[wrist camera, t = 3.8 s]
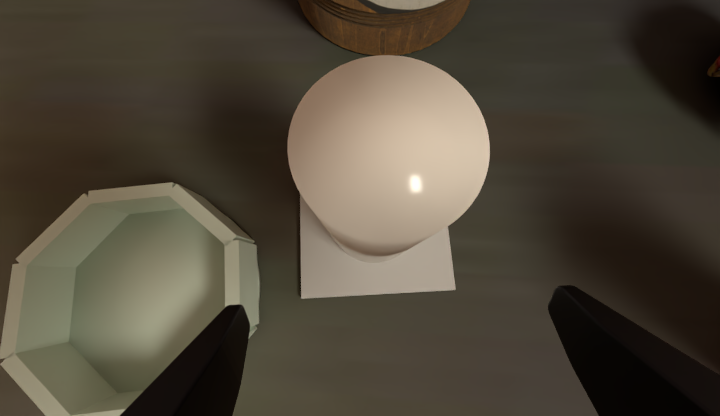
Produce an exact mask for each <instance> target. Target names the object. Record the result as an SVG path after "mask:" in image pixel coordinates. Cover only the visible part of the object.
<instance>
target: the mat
mask: <svg viewBox="0 0 720 416" xmlns="http://www.w3.org/2000/svg"><path fill="white" fill-rule="evenodd" d="M300 237H301V299H304V298H321V297H339V296H357V295H374V294H392V293H409V292H427V291H445V290H455V282H454V273H453V265H452V257H451V248H450V240H449V232H448V226H447V227H446V228H444V229H443V230H441V231H439V232H437V233H436V234H434V235H432V236H431V237H429V238H427V239H426V240H424V241H422V242H421V243H419V244H417V245H416V246H414V247H412V248H410V249H409V250H407V251H405V252H404V253H402V254H400V255H399V256H397V257H395V258H393V259H391V260H388V261H385V262H380V263H368V262H363V261H359V260H357V259H355V258H353V257H351V256H349V255H348V254H346V253H345V252H344V251H343V250H342V249H341V248H340V247H339V245H338V244H337V243H336V242H335V240H334V239H333V238H332V236H331V235H330V234H329V232H328V231H327V230H326V228H325V227H324V226H323V224H322V223H321V221H320V220H319V219H318V217H317V216H316V215H315V213H314V212H313V211H312V209H311V208H310V207H309V205H308V204H307V203H306V201H305V200H304V198H303V197H302V195H301V194H300Z"/></svg>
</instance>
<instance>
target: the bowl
mask: <svg viewBox="0 0 720 416" xmlns="http://www.w3.org/2000/svg"><path fill="white" fill-rule="evenodd" d="M254 242H255V241H254V240H253V239H251V238H250V237H249V236H248V235H247V234H246V233H244V232H243V231H242V230H241V229H240V228H239V227H238V226H237V225H236V224H235V223H234V222H233V221H232V220H231V219H230V218H228V217H227V216H226V215H224V214H223V213H221V212H220V211H219V210H218V209H217V208H215V207H214V206H213V205H212V204H211V203H210V202H208V201H207V200H206V199H205V198H204V197H202V196H200V195H198V194H196V193H195V192H193V191H191V190H189V189H187V188H185V187H183V186H181V185H179V184H175V183H173V182H170V183H160V184H151V185H141V186H131V187H122V188H112V189H102V190H93V191H89V192H88V194H85V193H83V194H82V195H81V196H80V197H79V198H78V199H77V200H76V201H75V202H74V203H73V204H72V205H71V206H70V207H69V208H68V209H67V210H66V211H65V212H64V213H63V214H62V215H61V216H60V217H59V218H58V219H56V220H55V221H54V222H53V223H52V224H51V225H50V226H49V227H48V228H47V229H46V230H45V231H44V232H43V233H42V234H41V235H40V236H39V237H38V238H37V239H36V240H35V241H34V242H33V243H32V244H30V245H29V246H28V247H27V248H26V249H25V250H24V251H23V252H22V253H21V254H20V255H19V256H18V257H17V258H16V260H17V261H18V262H19V264H13V265H12V272H11V279H10V286H9V292H8V299H7V306H6V313H5V320H4V327H3V334H2V340H1V347H0V359H3V358H6V359H5V360H4V361H3V362H2V363H1V364H0V365H1V366H2V367H3V368H4V369H5V370H6V372H7V373H8V374H9V375H10V376H11V377H12V378H13V379H14V381H15V382H16V383H17V384H18V385H19V386H20V387H21V388H22V390H23V391H24V392H25V393H26V394H27V395H28V396H29V397H30V399H31V400H32V401H33V402H34V403H35V404H36V405H37V407H38V408H39V409H40V410H41V411H42V412H43V413H44V414H45V416H120V415H121V414H122V413H123V412H124V411H125V409H126V408H127V407H128V406H129V405H130V404H131V403H132V402H133V401H134V400H135V399H136V398H137V397H138V396H139V395H140V394H141V393H142V392H143V391H144V390H145V389H146V388H147V387H148V386H149V385H150V384H151V383H152V382H153V381H154V380H155V379H156V378H157V377H158V376H159V375H160V374H161V373H162V371H163V370H164V369H165V368H166V367H167V366H168V365H169V364H170V363H171V362H172V361H173V360H174V359H175V358H176V357H177V356H178V355H179V354H180V353H181V352H182V351H183V350H184V349H185V348H186V347H187V346H188V345H189V344H190V343H191V342H192V341H193V340H194V339H195V338H196V337H197V336H198V335H199V334H200V332H201V331H202V330H203V329H204V328H205V327H206V326H207V325H208V324H209V323H210V322H211V321H212V320H213V319H214V318H215V317H216V316H217V315H218V314H219V313H220V312H221V311H222V310H223V309H224V308H225V307H226V306H228V305H236V304H241V305H243V306H244V309H245V311H246V314H247V317H248V319H249V322H250V333H249V338H250V336H251V335H252V334H253V333H254V332H255V330H256V329H257V327H256V326H255V325H256V324H259V302H260V296H261V279H260V270H259V266H258V261H257V245H254V244H253V243H254Z"/></svg>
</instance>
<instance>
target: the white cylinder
mask: <svg viewBox="0 0 720 416" xmlns="http://www.w3.org/2000/svg"><path fill="white" fill-rule="evenodd" d="M287 153H288V160H289V166H290V170H291V174H292V177H293V179H294V182H295V184H296V186H297V189H298V190H299V192H300V194H301V195H302V197H303V198H304V200H305V201H306V203H307V204H308V205H309V207H310V208H311V209H312V211H313V212H314V213H315V215H316V216H317V217H318V219H319V220H320V221H321V223H322V224H323V226H324V227H325V228H326V230H327V231H328V232H329V234H330V235H331V236H332V238H333V239H334V240H335V242H336V243H337V244H338V245H339V247H340V248H341V249H342V250H343V251H344V252H345V253H346V254H348V255H349V256H351V257H353V258H355V259H357V260H359V261H363V262H368V263H380V262H385V261H388V260H391V259H393V258H395V257H397V256H399V255H400V254H402V253H404V252H405V251H407V250H409V249H410V248H412V247H414V246H416V245H417V244H419V243H421V242H422V241H424V240H426V239H427V238H429V237H431V236H432V235H434V234H436V233H437V232H439V231H441V230H443V229H444V228H446V227H447V226H449V225H450V224H452V223H453V222H454V221H456V220H457V219H458V218H459V217H460V216H461V215H462V214H464V212H465V211H466V210H467V209H468V208H469V207H470V205H471V204H472V203H473V201H474V200H475V198H476V197H477V195H478V194H479V192H480V190H481V187H482V185H483V183H484V181H485V177H486V174H487V170H488V165H489V157H490V144H489V137H488V131H487V128H486V124H485V121H484V118H483V116H482V114H481V112H480V109H479V108H478V106H477V104H476V103H475V101H474V99H473V98H472V97H471V96H470V94H469V93H468V92H467V91H466V89H465V88H464V87H463V86H462V85H461V84H460V83H459V82H457V81H456V80H455V79H454V78H452V77H451V76H450V75H449V74H447V73H446V72H444V71H442V70H441V69H439V68H437V67H435V66H433V65H431V64H428V63H426V62H423V61H420V60H417V59H414V58H409V57H403V56H394V55H379V56H371V57H364V58H361V59H357V60H353V61H351V62H348V63H346V64H343V65H341V66H339V67H337V68H335V69H334V70H332V71H330V72H329V73H327V74H326V75H325V76H323V77H322V78H320V79H319V80H318V81H317V82H316V83H315V84H314V85H313V86H312V87H311V88H310V89H309V91H308V92H307V93H306V94H305V95H304V97H303V98H302V100H301V102H300V103H299V105H298V107H297V109H296V111H295V113H294V115H293V118H292V121H291V125H290V128H289V135H288V150H287Z"/></svg>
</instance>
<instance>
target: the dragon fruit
mask: <svg viewBox="0 0 720 416" xmlns="http://www.w3.org/2000/svg"><path fill="white" fill-rule="evenodd" d="M707 75H708V76H710V77H720V56H719V57H718V58H717V59H716V61H715V62H714V63H713V64H712V65H711V67H710V68H709V69H708V72H707Z"/></svg>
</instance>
